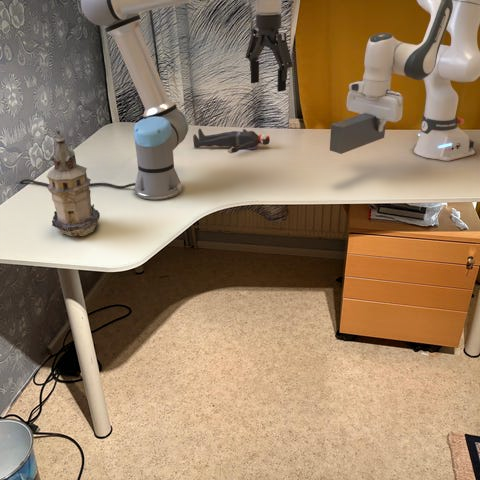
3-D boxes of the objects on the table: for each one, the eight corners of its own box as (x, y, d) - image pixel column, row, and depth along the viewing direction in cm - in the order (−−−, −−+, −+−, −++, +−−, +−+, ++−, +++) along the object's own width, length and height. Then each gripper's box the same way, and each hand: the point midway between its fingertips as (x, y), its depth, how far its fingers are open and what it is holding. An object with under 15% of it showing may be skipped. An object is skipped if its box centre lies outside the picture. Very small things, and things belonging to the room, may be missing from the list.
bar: (341, 154, 170) (343, 127, 165) (329, 150, 173) (331, 123, 168) (384, 137, 182) (387, 112, 178) (372, 134, 186) (375, 109, 181)
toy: (204, 122, 226) (274, 122, 220) (205, 136, 229) (274, 137, 223) (186, 142, 204) (264, 143, 198) (188, 157, 207) (264, 159, 201)
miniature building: (80, 214, 164) (63, 117, 149) (111, 225, 157) (96, 125, 142) (44, 231, 154) (22, 130, 140) (75, 244, 147) (55, 139, 133)
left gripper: (306, 16, 150) (303, 92, 160) (253, 8, 168) (253, 77, 178) (285, 18, 146) (283, 96, 157) (233, 10, 164) (235, 81, 174)
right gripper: (409, 91, 168) (403, 134, 175) (357, 80, 181) (353, 120, 188) (397, 95, 164) (392, 138, 171) (345, 83, 178) (342, 124, 185)
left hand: (267, 86), depth 167 cm, fingers open, 13 cm apart
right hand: (371, 129), depth 180 cm, fingers closed on bar, 5 cm apart
